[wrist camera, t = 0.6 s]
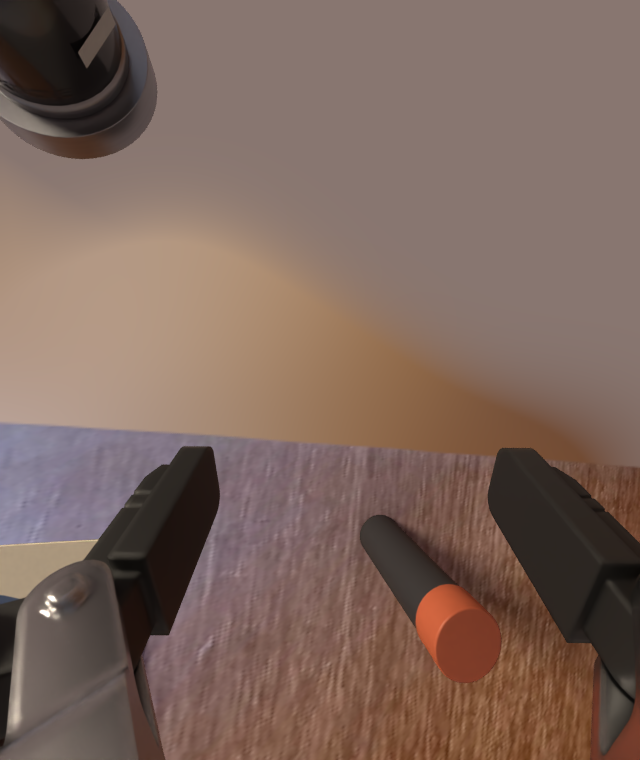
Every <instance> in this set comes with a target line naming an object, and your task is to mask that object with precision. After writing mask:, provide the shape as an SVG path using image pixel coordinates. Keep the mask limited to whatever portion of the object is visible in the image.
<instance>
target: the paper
mask: <svg viewBox="0 0 640 760" xmlns="http://www.w3.org/2000/svg"><path fill="white" fill-rule="evenodd" d="M98 540H99V539H96V540H80V541H63V542H47V543H30V544H14V545H0V604H3V603H7V602H11V601H14V600H18V599H22V598H25V597H27V595H28V594H29V593H30V592H31V591H32V590H33V589H34V588H35V586H36V585H38V584H39V583H40V582H41V581H42V580H43V579H45V578H46V577H48V576H49V575H50V574H52V573H54V572H55V571H57V570H59V569H61V568H63V567H65V566H67V565H69V564H72V563H75V562H79V561H83V560H84V558H85V557H86V556H87V554H88V553H89V552H90V550H91V549H92V548H93V546H94V545H95V544H96V542H97V541H98Z"/></svg>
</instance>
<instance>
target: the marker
mask: <svg viewBox="0 0 640 760" xmlns="http://www.w3.org/2000/svg"><path fill="white" fill-rule="evenodd" d="M360 540H361V544H362V546H363V548H364V549H365V551H366V552H367V554H368V555H369V557H370V559H371V560H372V562H373V563H374V565H375V566H376V568H377V569H378V571H379V572H380V574H381V575H382V577H383V579H384V580H385V582H386V583H387V585H388V586H389V588H390V589H391V591H392V592H393V594H394V595H395V597H396V599H397V600H398V602H399V603H400V605H401V606H402V608H403V609H404V611H405V612H406V614H407V615H408V617H409V619H410V620H411V622H412V623H413V625H414V626H415V628H416V629H417V633H418V635H419V637H420V639H421V641H422V642H423V644H424V645H425V647H426V649H427V650H428V652H429V653H430V655H431V656H432V658H433V660H434V661H435V663H436V664H437V666H438V667H439V669H440V670H441V672H442V673H443V674H444V675H445V676H446V677H448V678H449V679H451V680H453V681H455V682H459V683H470V682H474V681H477V680H479V679H481V678H482V677H484V676H485V675H486V674H487V673H489V671H490V670H491V669H492V668H493V666H494V665H495V663H496V661H497V659H498V657H499V654H500V650H501V633H500V629H499V626H498V624H497V622H496V620H495V619H494V618H493V616H492V615H491V614H490V613H489V612H488V611H487V610H486V609H485V608H484V607H483V606H482V605H481V604H480V603H479V602H478V601H477V600H475V599H474V598H473V597H472V596H471V595H470V594H469V593H468V592H467V591H466V590H465V589H463V588H462V587H460V586H459V585H458V584H457V583H456V582H455V581H453V580H452V579H451V578H450V577H449V576H448V575H447V574H446V573H445V572H444V571H443V570H442V569H441V568H440V567H439V566H438V565H437V564H436V563H435V562H434V561H433V560H432V559H431V558H430V557H429V556H428V555H427V554H426V553H425V552H424V551H423V550H422V549H421V548H420V547H419V546H418V545H417V544H416V543H415V542H414V541H413V540H412V539H411V538H410V537H409V536H408V535H407V534H406V533H405V532H404V531H403V530H402V529H401V528H400V527H399V526H398V525H397V524H396V523H395V522H394V521H393V520H392V519H391V518H389V517H387V516H385V515H376V516H373V517H371V518H369V519H368V520H367V521H366V522H365V523H364V525H363V526H362V529H361V532H360Z"/></svg>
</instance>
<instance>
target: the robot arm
mask: <svg viewBox="0 0 640 760" xmlns="http://www.w3.org/2000/svg"><path fill="white" fill-rule="evenodd" d="M128 67H129V57H128V50H127V46H126V43H125V40H124V37H123V35H122V32H121V30H120V27H119V25H118V22H117V20H116V18H115V16H114V15H113V13H112V11H111V9H110V6H109V3H108V1H107V0H0V92H1V93H2V94H3V95H4V96H5V97H7V98H8V99H9V100H10V101H12V102H13V103H15V104H16V105H18V106H20V107H22V108H23V109H25V110H28V111H30V112H32V113H35V114H38V115H42V116H45V117H51V118H59V119H71V118H79V117H84V116H87V115H90V114H93V113H96V112H98V111H99V110H101V109H103V108H104V107H106V106H107V105H109V104H110V103H111V102H112V101H113V100H114V99H115V98H116V97H117V95H118V94H119V93H120V91H121V90H122V88H123V86H124V84H125V81H126V78H127V74H128ZM219 500H220V490H219V483H218V477H217V471H216V464H215V458H214V453H213V449H212V448H211V447H206V446H184V447H182V448H181V449H180V450H179V452H178V453H177V454H176V456H175V457H174V459H173V460H172V462H171V463H170V465H161V466H160V467H158V468H157V469H155V470H154V471H153V472H151V473H150V474H149V475H147V476H146V477H145V478H144V479H143V481H142V482H141V483H140V485H139V486H138V487H137V489H136V490H135V491H134V495H131V497H130V498H129V499H128V501H127V502H126V504H125V507H124V508H122V509H121V510H120V512H119V513H118V514H117V516H116V517H115V518H114V520H113V521H112V522H111V524H110V525H109V526H108V528H107V529H106V530H105V532H104V533H103V534H102V536H101V537H100V538H99V540H98V541H97V542H96V544H95V545H94V546H93V548H92V549H91V550H90V552H89V553H88V554H87V556H86V557H85V558H84V560H83V561H79V562H75V563H72V564H69V565H67V566H65V567H63V568H61V569H59V570H57V571H55V572H54V573H52V574H50V575H49V576H48V577H46V578H45V579H43V580H42V581H41V582H40V583H39V584H38V585H36V586H35V588H34V589H33V590H32V591H31V592H30V593H29V594H28V595H27V597H25V598H22V599H18V600H14V601H11V602H7V603H3V604H0V760H165V756H164V752H163V748H162V743H161V739H160V734H159V730H158V725H157V720H156V716H155V711H154V707H153V702H152V698H151V693H150V688H149V684H148V679H147V675H146V670H145V665H144V661H143V657H142V653H143V650H144V648H145V646H146V644H147V641H148V639H149V637H150V635H169V633H170V631H171V628H172V626H173V623H174V621H175V618H176V615H177V613H178V610H179V608H180V605H181V603H182V600H183V598H184V595H185V593H186V590H187V587H188V585H189V582H190V580H191V577H192V575H193V572H194V570H195V567H196V565H197V562H198V560H199V557H200V554H201V552H202V549H203V547H204V544H205V542H206V539H207V537H208V534H209V532H210V529H211V526H212V524H213V521H214V519H215V516H216V514H217V511H218V507H219ZM488 504H489V509H490V512H491V514H492V516H493V518H494V519H495V521H496V523H497V525H498V526H499V528H500V530H501V531H502V533H503V535H504V536H505V538H506V540H507V541H508V543H509V545H510V547H511V548H512V550H513V552H514V553H515V555H516V557H517V558H518V560H519V562H520V564H521V565H522V567H523V569H524V570H525V572H526V574H527V575H528V577H529V579H530V581H531V582H532V584H533V586H534V587H535V589H536V591H537V592H538V594H539V596H540V597H541V599H542V601H543V603H544V604H545V606H546V608H547V609H548V611H549V613H550V614H551V616H552V618H553V620H554V621H555V623H556V625H557V626H558V628H559V630H560V631H561V633H562V635H563V637H564V638H565V640H566V642H567V643H591V644H592V645H593V647H594V648H595V650H596V651H597V653H598V656H597V658H596V660H595V663H594V677H593V702H592V728H591V753H590V760H640V543H639V542H638V541H637V540H636V539H635V538H634V537H633V536H632V535H631V534H630V533H629V532H628V531H627V530H626V529H625V528H624V527H623V526H622V525H621V524H620V523H619V522H618V521H617V520H616V519H615V518H614V517H613V516H612V515H611V514H610V513H609V512H605V508H603V507H602V506H601V505H600V504H599V503H598V502H597V501H596V500H595V499H592V498H591V495H590V494H589V493H588V492H587V491H586V490H585V489H584V488H583V487H582V486H581V485H580V484H579V483H578V482H577V481H576V480H575V479H573V478H572V477H570V476H568V475H567V474H565V473H564V472H562V471H560V470H559V469H557V468H555V467H551V466H550V465H549V464H548V463H547V462H546V461H545V460H544V459H543V458H542V457H541V456H540V455H539V454H538V453H537V452H536V451H535V450H534V449H531V448H502V449H500V450H499V452H498V453H497V457H496V461H495V465H494V469H493V473H492V477H491V482H490V486H489V490H488Z"/></svg>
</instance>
